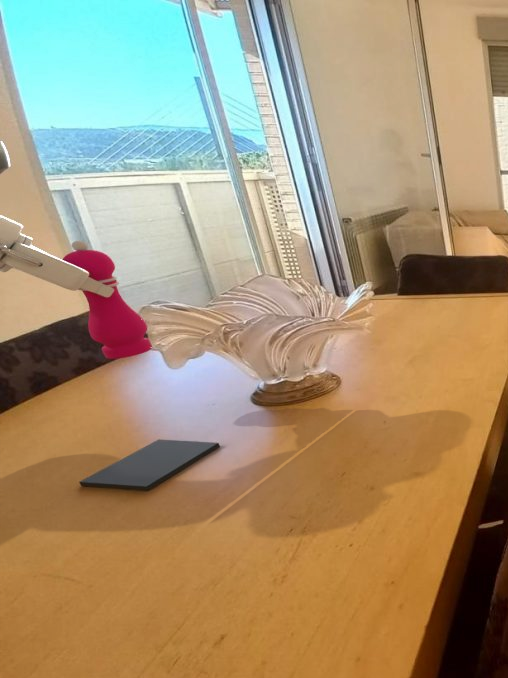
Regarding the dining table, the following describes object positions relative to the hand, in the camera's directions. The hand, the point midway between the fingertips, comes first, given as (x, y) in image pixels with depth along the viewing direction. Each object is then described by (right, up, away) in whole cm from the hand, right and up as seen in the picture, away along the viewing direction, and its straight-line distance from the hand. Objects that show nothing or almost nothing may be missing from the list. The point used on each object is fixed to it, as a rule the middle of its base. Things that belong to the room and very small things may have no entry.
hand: (105, 291), depth 82 cm
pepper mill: (0, -11, +4) cm, 12 cm away
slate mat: (+13, -29, -5) cm, 32 cm away
